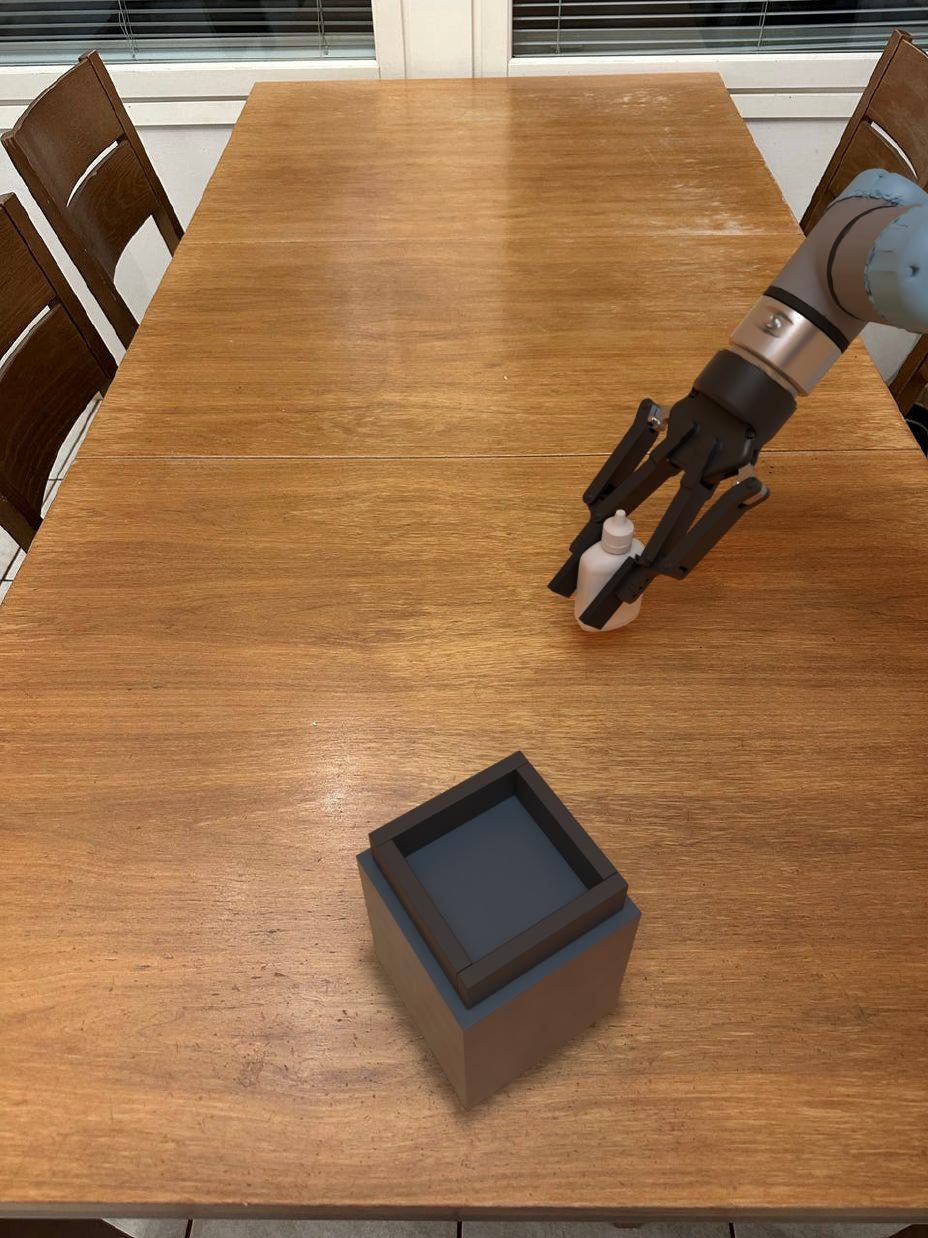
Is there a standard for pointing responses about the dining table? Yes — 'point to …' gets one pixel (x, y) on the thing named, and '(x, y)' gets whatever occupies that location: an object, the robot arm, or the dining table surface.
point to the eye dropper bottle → (607, 570)
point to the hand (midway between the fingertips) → (573, 607)
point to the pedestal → (497, 924)
